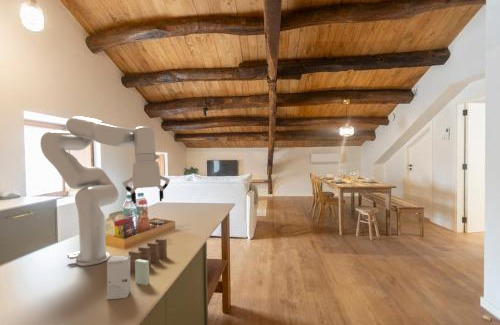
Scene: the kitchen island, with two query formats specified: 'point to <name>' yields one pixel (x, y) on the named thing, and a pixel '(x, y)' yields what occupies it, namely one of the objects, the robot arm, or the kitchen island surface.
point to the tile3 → (154, 251)
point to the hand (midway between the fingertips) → (148, 201)
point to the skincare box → (118, 277)
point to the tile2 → (145, 253)
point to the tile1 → (134, 259)
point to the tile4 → (162, 247)
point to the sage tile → (142, 272)
